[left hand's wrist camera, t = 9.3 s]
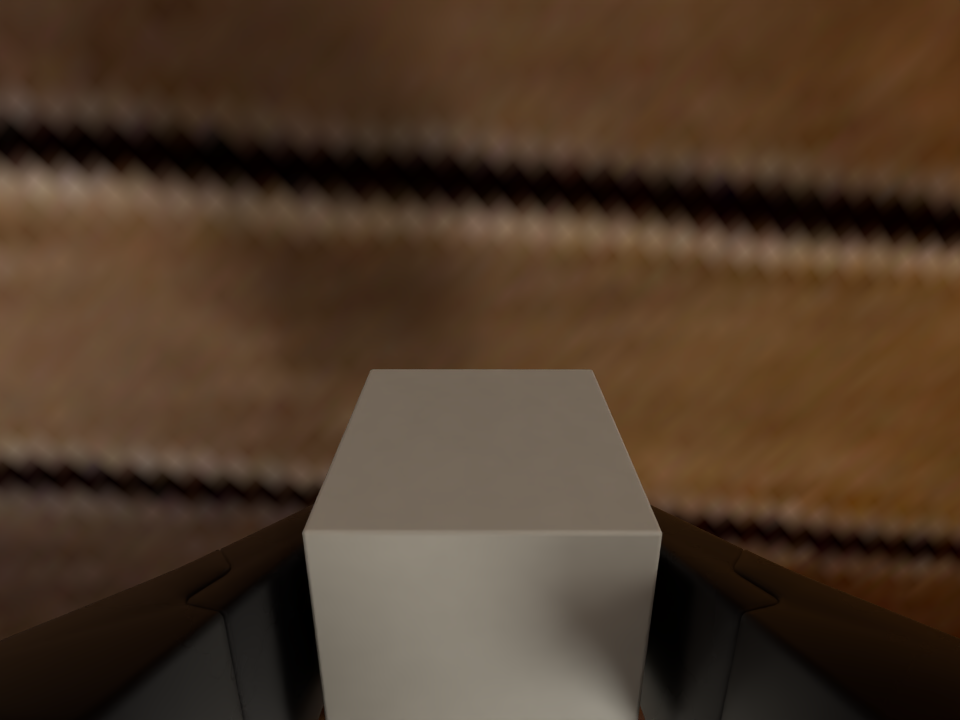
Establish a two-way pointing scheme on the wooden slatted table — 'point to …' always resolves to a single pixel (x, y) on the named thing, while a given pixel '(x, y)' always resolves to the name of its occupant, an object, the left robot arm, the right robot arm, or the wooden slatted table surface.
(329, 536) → the beige cube
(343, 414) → the wooden slatted table surface
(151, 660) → the left robot arm
